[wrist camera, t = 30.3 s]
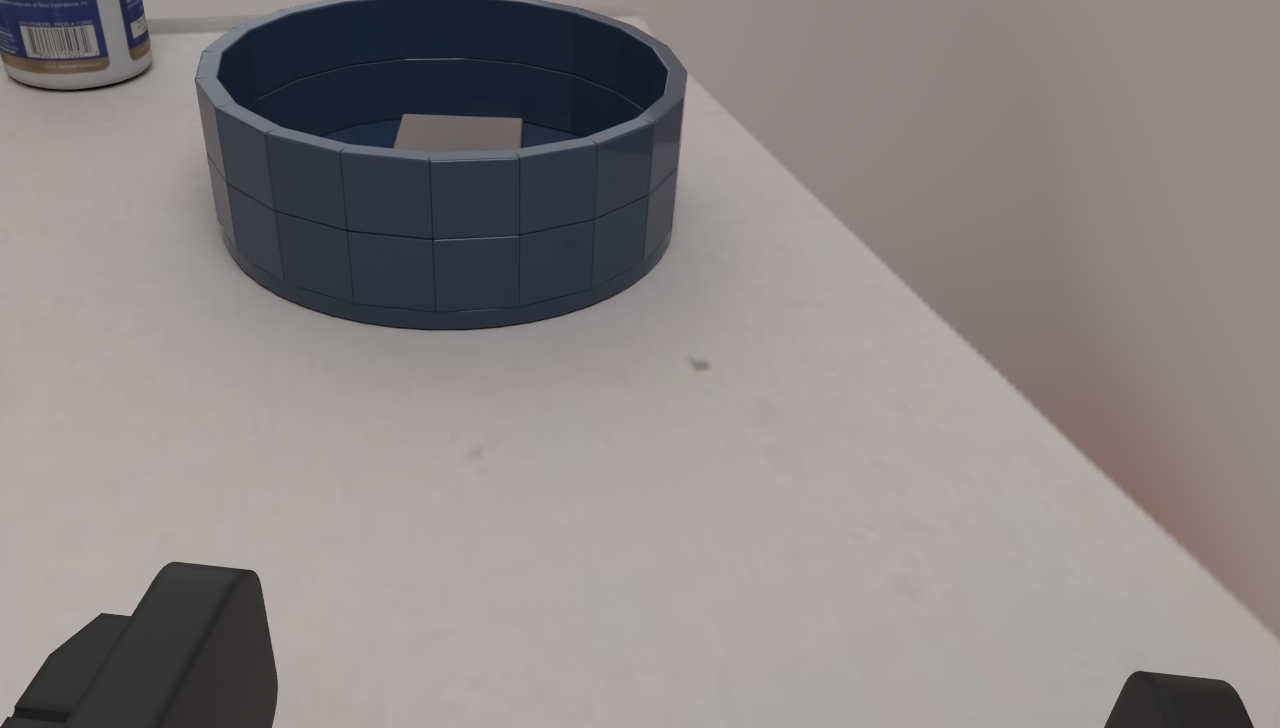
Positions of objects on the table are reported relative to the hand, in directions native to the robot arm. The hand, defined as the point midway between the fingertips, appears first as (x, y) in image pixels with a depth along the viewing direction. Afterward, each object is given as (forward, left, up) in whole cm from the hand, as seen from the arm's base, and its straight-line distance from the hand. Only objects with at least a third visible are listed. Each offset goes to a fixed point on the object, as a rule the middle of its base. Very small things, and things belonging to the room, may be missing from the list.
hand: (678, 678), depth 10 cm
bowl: (+8, -25, -8) cm, 28 cm away
